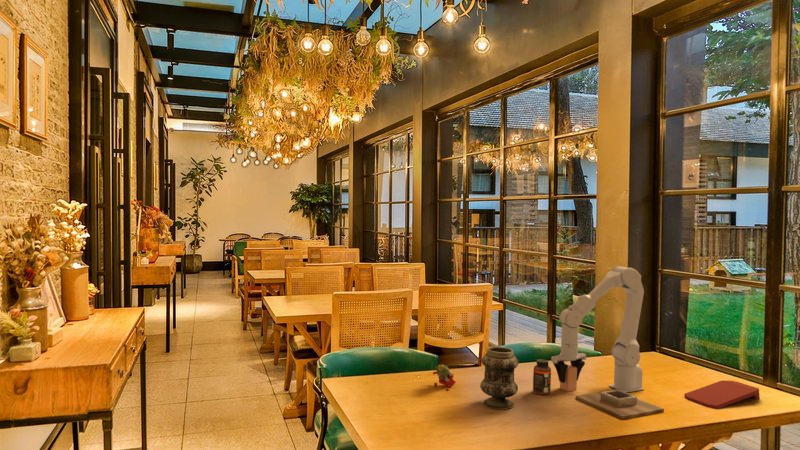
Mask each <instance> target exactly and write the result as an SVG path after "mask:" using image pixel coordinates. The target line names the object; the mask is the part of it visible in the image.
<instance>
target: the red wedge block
mask: <svg viewBox="0 0 800 450" xmlns="http://www.w3.org/2000/svg"><path fill="white" fill-rule="evenodd" d="M684 397H685V398H686V400H688V401H691V402H694V403H696V404H700V405H702V406H703V407H704V406H705V407H707V408H710V409H711V408H712V409H723V408H724V407H727V406H729V405H732V404H734V403H739V402H740V401H743V400H746V399H748V398H749V399H754V400H760V399H761V398H760V388H759V387H755V386H752V385H748V384H745V383H742V382H739V381H735V380H719V381H716V382H713V383H711V384H708V385H705V386H702V387H700V388H696V389H694V390H691V391H688V392H686V393H684Z"/></svg>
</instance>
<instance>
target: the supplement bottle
mask: <svg viewBox="0 0 800 450" xmlns="http://www.w3.org/2000/svg"><path fill="white" fill-rule="evenodd" d="M532 373H533V375H532V392H533V393H534V394H537V395H541V396H547V395H550V394H551V392H552V391H551V387H552V386H551V385H552V384H551V383H552V382H551V381H552V369H551V367H550V366H549V360H547V359H544V358H543V359H542V358H541V359H540V358H539V359H536V365H534V366H533V371H532Z"/></svg>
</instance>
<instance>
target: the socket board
mask: <svg viewBox="0 0 800 450" xmlns="http://www.w3.org/2000/svg"><path fill="white" fill-rule="evenodd" d="M575 399H576V400H578V401H580V402H582V403H584V404H587V405H588V406H591V407H593V408H595V409H598V410H599V411H603V412H604V413H607V414H609V415H611V416H614V417H615V418H618V419H620V420H623V421H624V420H627V419H629V420H630V419H635V418H639V417H645V416H650V415H656V414H661V413H664V412H665V408H662V407H660V406H657V405H656V404H654V403H653V404H652V403H650V402H647V401H645V400H643V399H640V398H638V396H636V395H633V394H630V393H629V392H623V391H620V390H617V389H609V390H604V391H598V392H597V391H596V392H591V393H585V394H584V393H583V394H579V395H578V394H577V395H575Z"/></svg>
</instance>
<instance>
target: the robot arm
mask: <svg viewBox="0 0 800 450" xmlns="http://www.w3.org/2000/svg"><path fill="white" fill-rule="evenodd" d="M619 287H621V288H622V290H624V292H626V296H625V298H626V299H625V305H624V309H623V316H622V322H621V326H620V327H621V329H620V334H619V336H618V337H616V339H615V342H614V345H613V346H612V347H611V349H610V350H611V352H610V353H611V356H612V357H613V358H614V367H613V369H614V371H613V383H612V384H611V383H610V384H608V387H610V388H613V389H614V390H620V391H623V392H626V393H631V392H638V391H642V390H643V391H644V390H645V388H644V387H643V368H642V367H641V365H640V364H639V362H640V361H641V353H640V344H639V343H638V341H637V335H638V330H639V324H640V317H641V312H642V305H643V300H644V295H645V289H644V286H643V283H642V275H641V273H640V272H638V270H636V268H632V267H625V266H621V265H617V266H614V267H612V269H610V270H609V271H608V272H607V273H606V275H605V277H603V279H601V281H600V282H599V283H597V285H596V286H595V287H594V288H593V289H592V290H591V291H590V292H589V293H588V294H582V295H579V296H578V297H577V300H576V301H574V303H572V304H571V305H569V306H568V308H566V309H563V310H562V311H561V312H560V315H559V316H558V318H559V319H558V320H559V321H560V323H561V336H560V337H561V339H560V340H561V341H560V353H559V354H557V355H553V356H551V359H550V361H551V363H552V364H553V366H554V368H555V370H556V373H557V376H558V381H559V383H560V382H562V383H565V375H566V370H567V367H568V365H569V364H566V362H570V365H571V366H574V367H576V368H577V382H578V380H579V377H580V374H581V371H582V369H583V368H584V366H585V365H586V362H585V361H586V360H587V354H586V353H584V352H583V353H582V352H581V353H579V352H578V351H579V346H578V345H579V326H581V325H582V322H583V318H585V317H586V316H587V315H588V314H589V313H590V312H591V311H592V310H593V309H594V308H595V307H596V302H597V301H598V300H599V299H600V298H602V297H603V296H604V295H605V294H606V293H607V292H609V291H610V290H611V289H612V288H619Z"/></svg>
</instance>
